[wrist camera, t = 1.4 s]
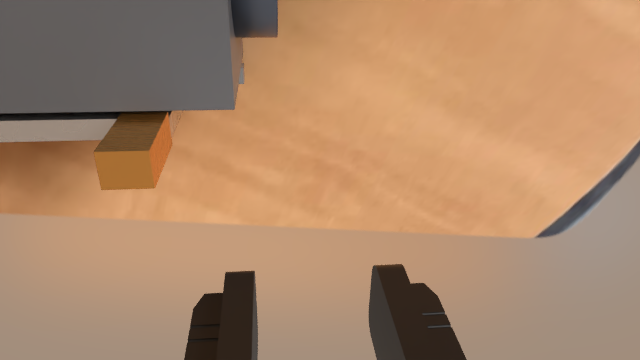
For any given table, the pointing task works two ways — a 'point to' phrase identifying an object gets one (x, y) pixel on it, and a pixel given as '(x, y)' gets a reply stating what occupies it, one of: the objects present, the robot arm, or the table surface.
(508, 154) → the table surface
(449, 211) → the table surface
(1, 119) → the side door
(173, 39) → the grey box machine
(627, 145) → the table surface
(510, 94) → the table surface
